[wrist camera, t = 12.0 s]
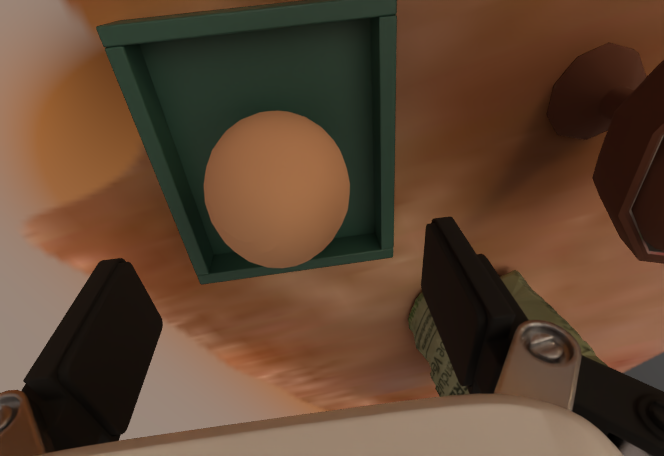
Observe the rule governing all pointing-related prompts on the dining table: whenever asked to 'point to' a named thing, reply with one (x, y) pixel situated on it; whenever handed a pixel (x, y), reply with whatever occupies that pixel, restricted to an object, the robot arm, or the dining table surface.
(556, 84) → the ice cream bowl
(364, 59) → the tray
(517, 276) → the pouch
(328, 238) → the egg
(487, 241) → the dining table surface
